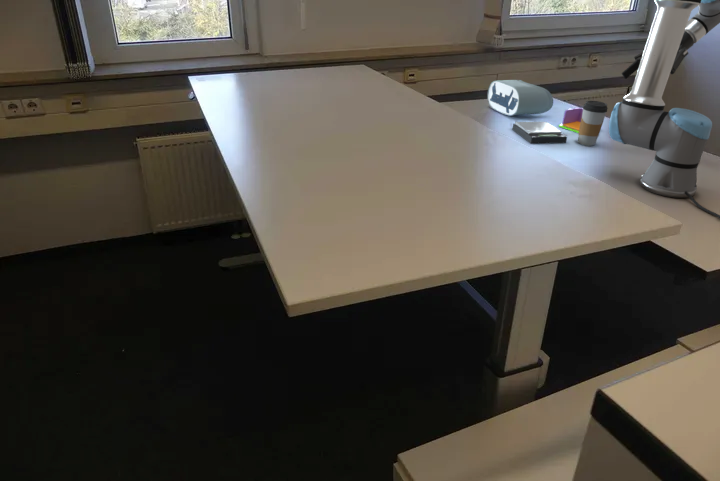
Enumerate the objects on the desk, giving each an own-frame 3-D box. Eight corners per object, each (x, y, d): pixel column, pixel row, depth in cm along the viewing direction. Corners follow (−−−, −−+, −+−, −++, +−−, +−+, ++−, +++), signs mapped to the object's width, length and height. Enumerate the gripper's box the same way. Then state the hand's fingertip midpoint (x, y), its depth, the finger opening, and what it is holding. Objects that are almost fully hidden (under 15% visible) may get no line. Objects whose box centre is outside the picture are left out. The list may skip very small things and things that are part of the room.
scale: (565, 143, 197) (567, 134, 196) (530, 143, 195) (532, 135, 194) (545, 129, 212) (546, 121, 210) (512, 129, 210) (513, 121, 208)
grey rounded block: (485, 106, 238) (489, 77, 232) (519, 104, 245) (524, 75, 239) (515, 120, 221) (521, 89, 214) (551, 117, 227) (558, 87, 221)
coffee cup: (599, 148, 194) (611, 107, 186) (576, 145, 195) (586, 105, 188) (595, 140, 201) (606, 101, 194) (572, 138, 202) (582, 99, 195)
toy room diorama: (576, 122, 222) (580, 106, 218) (600, 130, 213) (605, 113, 210) (557, 126, 216) (560, 109, 213) (581, 134, 207) (586, 117, 204)
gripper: (716, 51, 175) (661, 96, 180) (667, 38, 196) (619, 80, 201) (708, 33, 171) (652, 81, 176) (659, 23, 193) (610, 65, 198)
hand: (634, 80), depth 189 cm, fingers open, 13 cm apart
